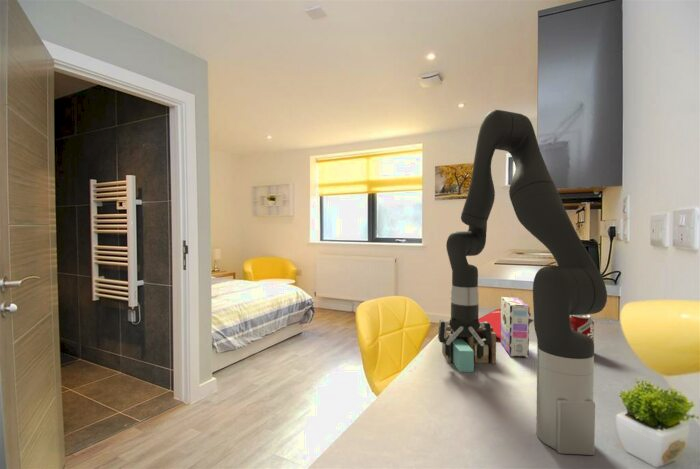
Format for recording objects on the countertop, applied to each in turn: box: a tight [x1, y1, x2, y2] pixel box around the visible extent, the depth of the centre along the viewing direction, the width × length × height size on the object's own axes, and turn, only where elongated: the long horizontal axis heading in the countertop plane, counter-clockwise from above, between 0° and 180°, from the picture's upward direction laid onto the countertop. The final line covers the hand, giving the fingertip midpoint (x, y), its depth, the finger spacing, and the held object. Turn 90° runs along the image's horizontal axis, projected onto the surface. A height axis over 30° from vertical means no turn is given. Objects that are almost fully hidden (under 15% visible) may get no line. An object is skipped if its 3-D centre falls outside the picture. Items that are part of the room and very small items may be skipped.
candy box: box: [500, 296, 530, 359], centre depth 117 cm, size 14×6×16 cm, turn 168°
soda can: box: [570, 314, 595, 343], centre depth 115 cm, size 7×7×12 cm
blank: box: [451, 338, 475, 373], centre depth 106 cm, size 12×4×6 cm, turn 178°
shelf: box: [441, 326, 497, 365], centre depth 110 cm, size 9×14×10 cm, turn 85°
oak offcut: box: [473, 340, 489, 363], centre depth 110 cm, size 6×4×5 cm, turn 175°
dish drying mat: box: [478, 308, 532, 343], centre depth 146 cm, size 16×41×4 cm, turn 139°
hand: (463, 357), depth 102 cm, fingers open, 8 cm apart
